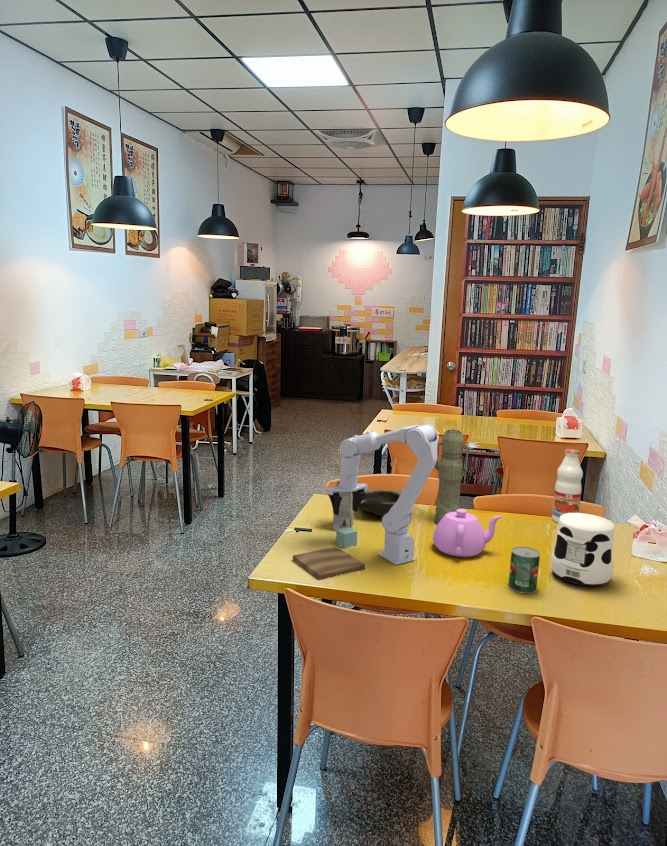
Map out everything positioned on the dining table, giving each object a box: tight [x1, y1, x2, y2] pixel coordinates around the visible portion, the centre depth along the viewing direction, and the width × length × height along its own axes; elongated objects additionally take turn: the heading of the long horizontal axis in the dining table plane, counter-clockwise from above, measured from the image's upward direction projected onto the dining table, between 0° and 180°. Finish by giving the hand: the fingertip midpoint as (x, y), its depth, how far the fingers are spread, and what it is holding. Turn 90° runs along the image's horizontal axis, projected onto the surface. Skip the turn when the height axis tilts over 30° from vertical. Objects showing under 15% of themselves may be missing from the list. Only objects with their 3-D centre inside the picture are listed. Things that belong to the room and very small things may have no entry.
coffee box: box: [332, 480, 355, 532], centre depth 220 cm, size 9×6×16 cm
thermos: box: [434, 429, 470, 526], centre depth 226 cm, size 9×12×35 cm
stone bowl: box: [359, 488, 403, 520], centre depth 238 cm, size 25×25×9 cm
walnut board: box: [292, 546, 366, 581], centre depth 189 cm, size 16×16×2 cm
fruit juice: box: [551, 448, 584, 524], centre depth 234 cm, size 9×9×28 cm
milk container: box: [550, 512, 615, 587], centre depth 184 cm, size 17×17×18 cm
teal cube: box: [335, 527, 358, 549], centre depth 205 cm, size 5×5×5 cm
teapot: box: [432, 508, 504, 558], centre depth 202 cm, size 22×22×14 cm
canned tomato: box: [507, 546, 541, 594], centre depth 177 cm, size 8×8×11 cm
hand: (345, 512), depth 205 cm, fingers open, 7 cm apart
